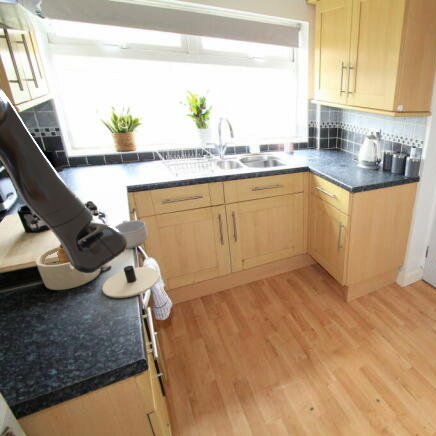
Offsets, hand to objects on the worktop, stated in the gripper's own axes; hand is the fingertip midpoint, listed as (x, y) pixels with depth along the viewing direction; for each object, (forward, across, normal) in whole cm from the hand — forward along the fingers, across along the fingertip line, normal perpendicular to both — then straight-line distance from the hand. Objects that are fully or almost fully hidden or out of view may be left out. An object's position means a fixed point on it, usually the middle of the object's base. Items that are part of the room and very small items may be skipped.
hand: (56, 207), depth 86 cm
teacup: (+21, -22, +28) cm, 41 cm away
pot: (+11, 0, +28) cm, 30 cm away
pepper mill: (+11, 0, +27) cm, 29 cm away
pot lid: (-7, -11, +27) cm, 30 cm away
